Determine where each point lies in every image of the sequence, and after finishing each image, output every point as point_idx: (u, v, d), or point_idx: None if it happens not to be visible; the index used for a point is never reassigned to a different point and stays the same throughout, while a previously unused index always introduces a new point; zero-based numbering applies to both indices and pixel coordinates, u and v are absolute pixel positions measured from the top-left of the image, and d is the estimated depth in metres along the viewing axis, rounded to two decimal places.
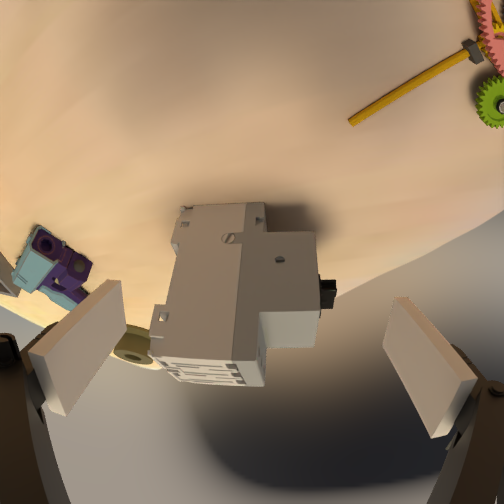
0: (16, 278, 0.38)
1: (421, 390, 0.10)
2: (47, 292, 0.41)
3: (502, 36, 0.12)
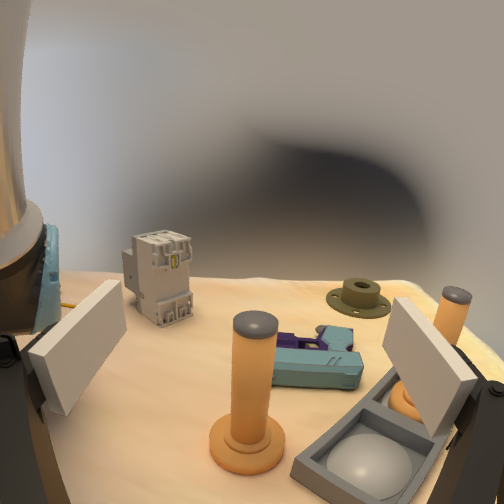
0: (343, 365, 0.39)
1: (421, 390, 0.10)
2: (336, 346, 0.45)
3: None
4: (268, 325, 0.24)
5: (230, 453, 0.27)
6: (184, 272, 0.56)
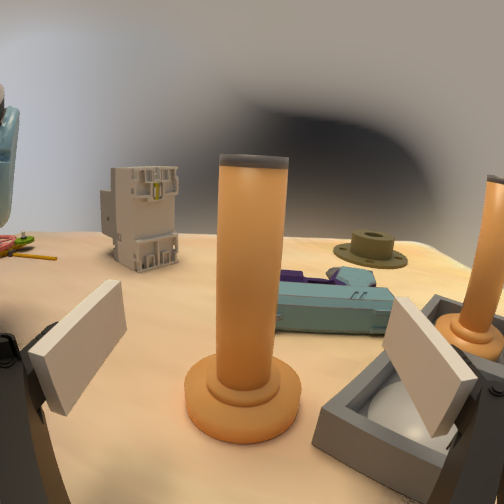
0: (371, 299, 0.30)
1: (421, 390, 0.10)
2: (356, 283, 0.36)
3: None
4: None
5: (216, 406, 0.18)
6: (169, 208, 0.47)
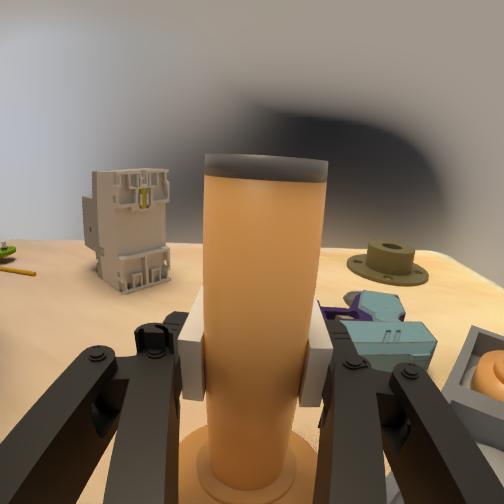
0: (407, 341, 0.23)
1: None
2: (384, 316, 0.28)
3: None
4: None
5: None
6: (158, 218, 0.40)
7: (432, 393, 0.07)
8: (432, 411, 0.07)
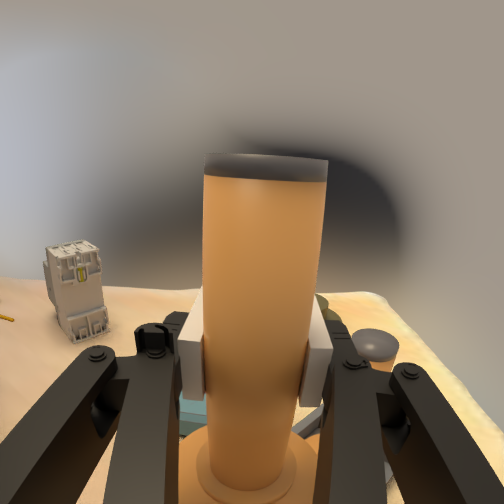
0: None
1: None
2: None
3: None
4: None
5: None
6: (96, 286, 0.47)
7: (432, 393, 0.07)
8: (432, 411, 0.07)
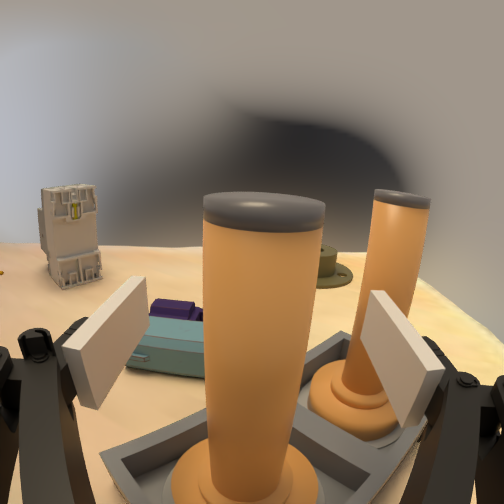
0: None
1: (393, 380, 0.11)
2: None
3: None
4: (300, 203, 0.09)
5: None
6: (90, 226, 0.45)
7: None
8: None
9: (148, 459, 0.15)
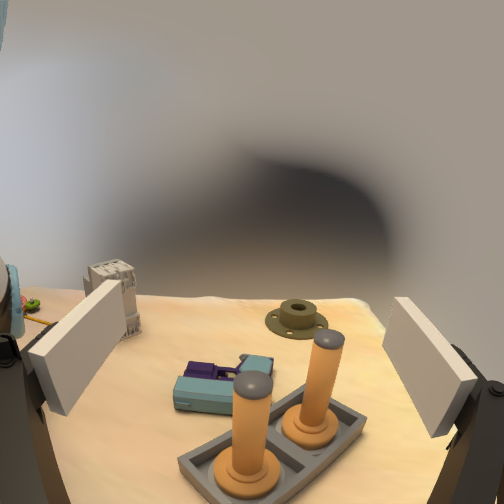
0: None
1: (421, 390, 0.10)
2: None
3: None
4: (264, 386, 0.26)
5: (232, 483, 0.29)
6: (131, 296, 0.62)
7: None
8: None
9: (200, 458, 0.33)
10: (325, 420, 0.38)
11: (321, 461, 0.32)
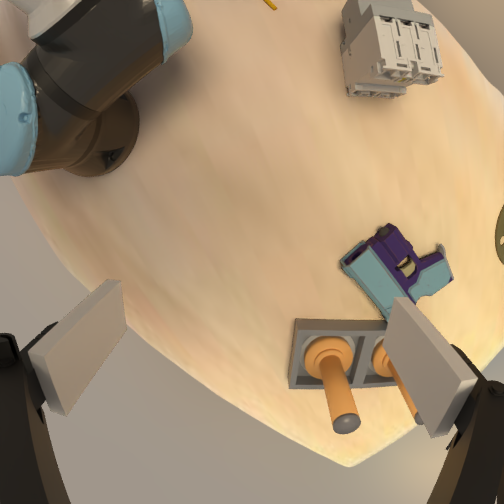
0: None
1: (421, 390, 0.10)
2: (417, 290, 0.44)
3: None
4: (347, 430, 0.34)
5: (310, 364, 0.48)
6: None
7: None
8: None
9: None
10: None
11: (361, 387, 0.49)
